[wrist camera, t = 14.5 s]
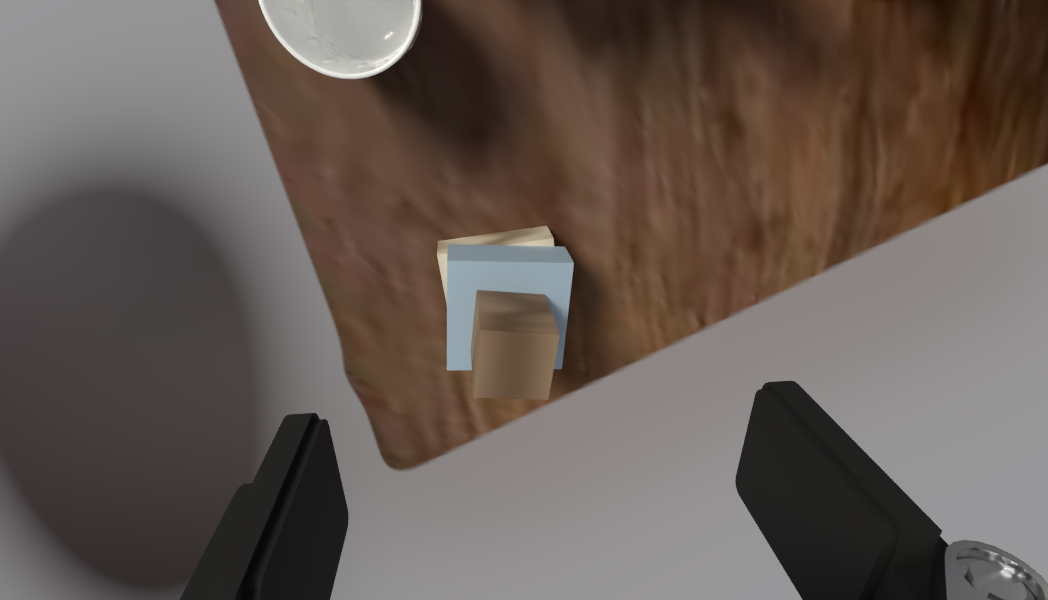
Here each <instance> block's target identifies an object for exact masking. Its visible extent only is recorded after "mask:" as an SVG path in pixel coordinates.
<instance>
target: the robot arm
mask: <svg viewBox="0 0 1048 600" xmlns="http://www.w3.org/2000/svg"><path fill="white" fill-rule="evenodd" d="M736 488H737V491H738V494H739V496H740V497H741V499H742V501H743V502H744V504H745V505H746V507H747V509H748V510H749V512H750V514H751V515H752V517H753V519H754V520H755V522H756V524H757V525H758V527H759V529H760V530H761V532H762V534H763V535H764V537H765V538H766V540H767V542H768V543H769V545H770V547H771V548H772V550H773V552H774V553H775V555H776V556H777V558H778V560H779V561H780V563H781V565H782V566H783V568H784V570H785V571H786V573H787V575H788V576H789V578H790V580H791V581H792V583H793V584H794V586H795V588H796V589H797V591H798V593H799V594H800V596H801V598H802V599H803V600H1048V583H1047V582H1046V581H1045V580H1044V579H1043V577H1042V576H1041V575H1039V574H1038V573H1037V572H1036V571H1035V570H1034V569H1032V568H1031V567H1030V566H1029V565H1028V564H1026V563H1025V562H1023V561H1021V560H1020V559H1018V558H1017V557H1015V556H1013V555H1012V554H1009V553H1008V552H1005V551H1003V550H1001V549H999V548H997V547H995V546H992V545H988V544H985V543H982V542H978V541H968V540H962V541H957V542H953V543H952V544H951V545H948V544H947V543H946V542H945V541H944V540H943V539H942V538H941V537H940V534H941V532H942V530H941V529H940V528H939V527H938V526H937V525H936V524H935V523H934V522H933V521H932V520H931V519H930V518H929V517H928V516H927V515H926V514H925V513H924V512H923V511H922V510H921V509H920V508H919V507H918V506H917V505H916V504H915V503H914V502H913V501H912V500H911V499H910V498H909V497H908V496H907V495H906V494H905V493H904V492H903V491H902V489H901V488H900V487H899V486H898V485H897V484H896V483H894V481H893V480H892V479H891V478H890V477H889V476H888V475H887V474H886V473H885V472H884V471H883V470H882V469H881V468H880V467H879V466H878V465H877V464H876V463H875V462H874V461H873V460H872V459H871V458H870V457H869V456H868V455H867V454H866V453H865V452H864V451H863V450H862V449H861V448H860V447H859V446H858V445H857V444H856V443H855V442H854V441H853V440H852V439H851V438H850V437H849V435H847V433H846V432H845V431H844V430H843V429H842V428H841V427H840V426H839V425H838V424H837V423H836V422H835V421H834V420H833V419H832V418H831V417H830V416H829V415H828V414H827V413H826V412H825V411H824V410H823V409H822V408H821V407H820V406H819V405H818V404H817V403H816V402H815V401H814V400H813V399H812V398H811V397H810V396H809V395H808V394H807V393H806V392H805V391H804V390H803V389H802V388H801V387H800V386H799V385H798V384H797V383H796V382H794V381H782V382H781V381H780V382H768V383H765V384H764V385H763V388H762V389H760V390H758V391H757V392H756V395H755V398H754V403H753V407H752V411H751V415H750V419H749V424H748V428H747V432H746V436H745V441H744V445H743V449H742V453H741V457H740V462H739V466H738V470H737V475H736ZM347 527H348V509H347V504H346V500H345V496H344V491H343V487H342V482H341V478H340V473H339V469H338V464H337V460H336V455H335V451H334V446H333V442H332V437H331V434H330V428H329V424H328V421H327V420H325V419H323V420H319V417H318V415H317V414H316V413H306V414H292V415H287V416H286V417H285V418H284V419H283V421H282V423H281V425H280V427H279V429H278V431H277V433H276V436H275V438H274V440H273V442H272V444H271V446H270V448H269V450H268V452H267V454H266V456H265V458H264V460H263V462H262V464H261V466H260V468H259V470H258V472H257V474H256V476H255V478H254V480H253V483H250V484H243V485H242V486H240V487H239V488H238V490H237V491H236V493H235V494H234V496H233V498H232V500H231V502H230V504H229V506H228V508H227V510H226V511H225V513H224V515H223V517H222V519H221V521H220V523H219V525H218V527H217V529H216V531H215V533H214V535H213V537H212V538H211V541H210V542H209V544H208V546H207V548H206V550H205V552H204V554H203V556H202V558H201V560H200V562H199V563H198V566H197V567H196V570H195V571H194V573H193V575H192V577H191V579H190V581H189V583H188V585H187V587H186V589H185V590H184V592H183V595H182V596H181V598H180V600H330V597H331V593H332V588H333V584H334V580H335V576H336V572H337V568H338V564H339V560H340V556H341V552H342V548H343V544H344V540H345V536H346V532H347Z"/></svg>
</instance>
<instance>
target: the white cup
mask: <svg viewBox="0 0 1048 600" xmlns="http://www.w3.org/2000/svg"><path fill="white" fill-rule="evenodd" d="M259 3H260V6H261V9H262V12H263V14H264V17H265V19H266V21H267V23H268V25H269V26H270V28H271V30H272V31H273V33H274V34H275V36H276V37H277V39H278V40H279V41H280V42H281V44H282V45H283V46H284V47H285V48H286V49H287V50H288V51H289V52H290V53H291V54H292V55H293V56H294V57H295V58H297V59H298V60H299V61H301V62H302V63H303V64H305V65H307V66H308V67H310V68H312V69H314V70H316V71H318V72H320V73H322V74H325V75H328V76H332V77H336V78H342V79H360V78H366V77H370V76H373V75H376V74H378V73H381V72H383V71H384V70H386V69H388V68H389V67H391V66H392V65H394V64H395V63H396V62H398V61H399V60H400V59H401V58H403V57H404V56H405V55H406V53H407V52H408V51H409V50H410V48H411V47H412V46H413V44H414V42H415V40H416V38H417V36H418V33H419V30H420V26H421V21H422V11H423V4H422V0H259Z"/></svg>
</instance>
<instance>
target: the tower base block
mask: <svg viewBox="0 0 1048 600" xmlns="http://www.w3.org/2000/svg"><path fill="white" fill-rule="evenodd" d="M448 244H470V245H515V246H554V238H553V236H552V234H551V232H550V230H549V229H548V227H547V226H543V227H536V228H529V229H522V230H515V231H507V232H500V233H493V234H486V235H479V236H472V237H465V238H458V239H450V240H443V241H438V250H437V257H438V262H439V267H440V272H441V278H442V283H443V288H444V293H445V298H446V303H447V253H448Z"/></svg>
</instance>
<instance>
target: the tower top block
mask: <svg viewBox="0 0 1048 600" xmlns="http://www.w3.org/2000/svg"><path fill="white" fill-rule="evenodd" d="M573 267H574V262H573V260H572V259H571V257H570V255H569V253H568V252H567V250H566V248H565V247H561V246H515V245H470V244H448V253H447V370H472V365H471V341H472V331H473V321H474V311H475V302H476V292H477V290H486V291H501V292H515V293H530V294H545V296H546V299H547V302H548V304H549V307H550V309H551V312H552V315H553V317H554V320H555V323H556V325H557V328H558V330H559V333H560V338H559V343H558V349H557V354H556V360H555V365H554V369H562V363H563V355H564V346H565V337H566V328H567V320H568V311H569V302H570V294H571V285H572V276H573Z"/></svg>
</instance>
